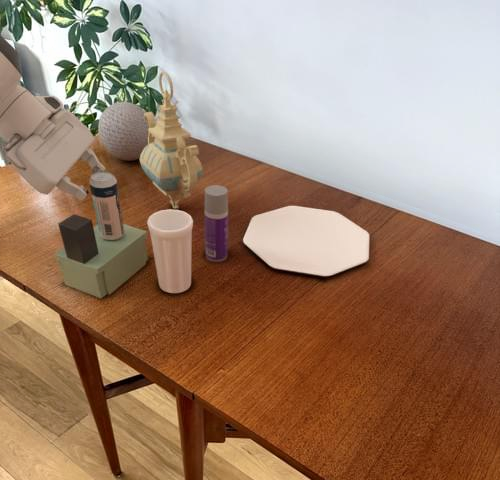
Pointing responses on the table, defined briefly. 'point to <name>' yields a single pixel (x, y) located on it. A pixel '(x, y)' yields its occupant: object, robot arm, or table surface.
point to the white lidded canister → (107, 205)
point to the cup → (172, 248)
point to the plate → (307, 241)
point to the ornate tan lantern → (170, 152)
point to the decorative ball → (124, 130)
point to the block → (78, 238)
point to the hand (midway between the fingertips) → (94, 184)
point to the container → (216, 222)
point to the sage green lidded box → (106, 263)
